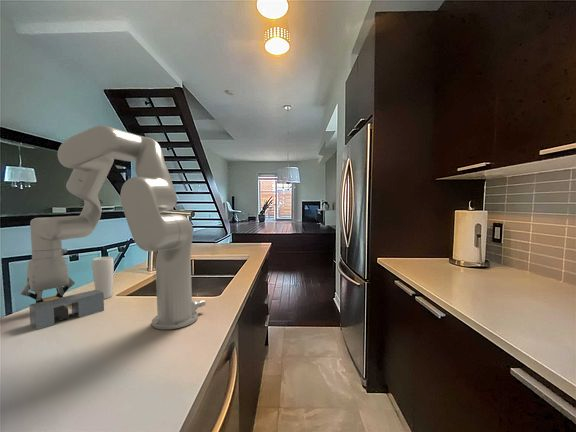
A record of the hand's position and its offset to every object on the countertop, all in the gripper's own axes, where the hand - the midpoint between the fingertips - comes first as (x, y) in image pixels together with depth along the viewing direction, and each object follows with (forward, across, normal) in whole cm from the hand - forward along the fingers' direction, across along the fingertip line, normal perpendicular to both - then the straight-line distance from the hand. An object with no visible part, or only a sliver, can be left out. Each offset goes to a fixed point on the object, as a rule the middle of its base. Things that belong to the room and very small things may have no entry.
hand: (50, 308), depth 92 cm
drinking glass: (+1, -16, +1) cm, 16 cm away
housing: (+1, -2, +13) cm, 13 cm away
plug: (0, 0, +5) cm, 5 cm away
